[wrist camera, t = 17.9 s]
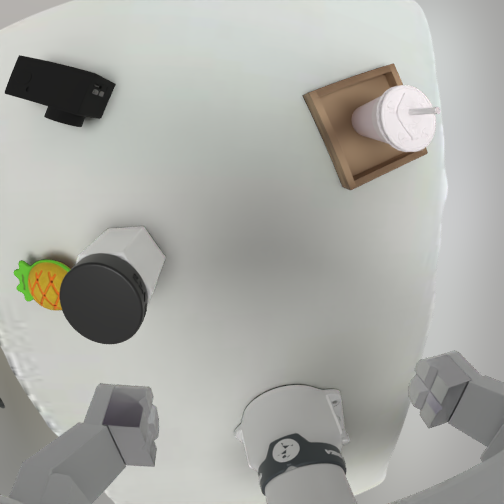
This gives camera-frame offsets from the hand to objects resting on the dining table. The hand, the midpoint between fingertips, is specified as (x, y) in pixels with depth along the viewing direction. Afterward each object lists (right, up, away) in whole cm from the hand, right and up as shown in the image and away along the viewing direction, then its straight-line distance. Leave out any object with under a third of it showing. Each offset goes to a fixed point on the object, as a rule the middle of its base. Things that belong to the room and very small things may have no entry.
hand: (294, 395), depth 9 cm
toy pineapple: (-27, +1, +28) cm, 39 cm away
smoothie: (+12, +19, +25) cm, 34 cm away
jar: (-16, +3, +28) cm, 32 cm away
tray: (+12, +19, +26) cm, 34 cm away
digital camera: (-22, +22, +21) cm, 38 cm away
